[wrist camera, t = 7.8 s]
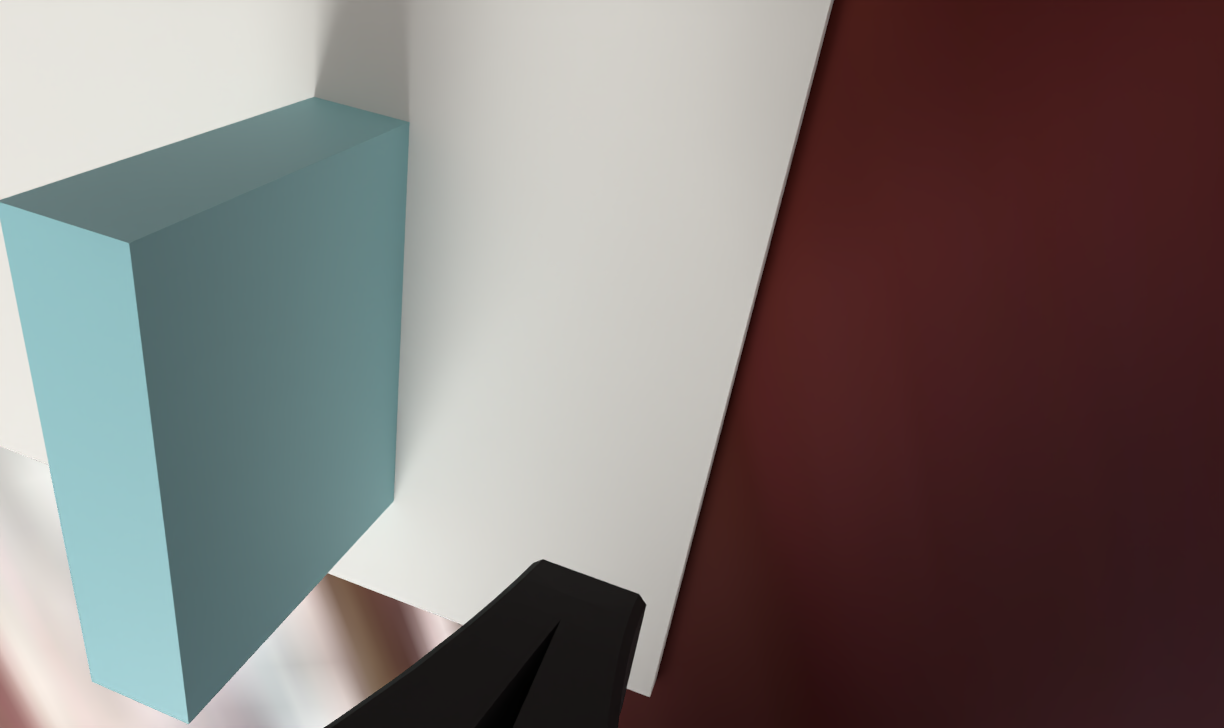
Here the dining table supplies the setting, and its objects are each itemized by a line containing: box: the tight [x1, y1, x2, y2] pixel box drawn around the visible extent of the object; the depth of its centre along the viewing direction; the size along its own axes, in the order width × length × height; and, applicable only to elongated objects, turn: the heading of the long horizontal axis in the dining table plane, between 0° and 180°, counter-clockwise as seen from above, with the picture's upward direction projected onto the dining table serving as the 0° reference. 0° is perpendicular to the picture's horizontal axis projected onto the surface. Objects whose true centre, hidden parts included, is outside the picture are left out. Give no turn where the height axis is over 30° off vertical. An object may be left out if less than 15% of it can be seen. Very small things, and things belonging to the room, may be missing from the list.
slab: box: [0, 97, 410, 724], centre depth 15 cm, size 8×2×6 cm, turn 171°
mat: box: [0, 0, 834, 697], centre depth 18 cm, size 14×18×1 cm
